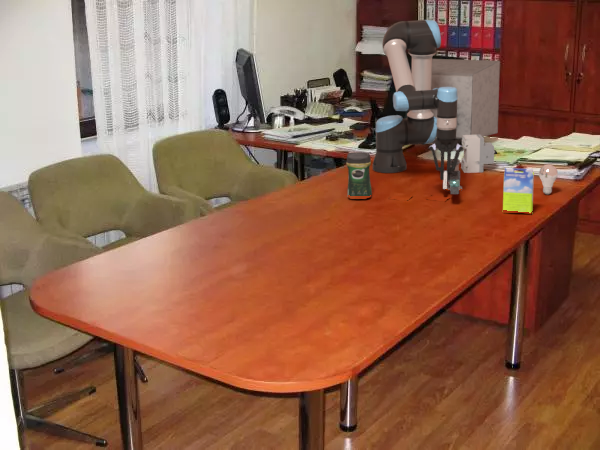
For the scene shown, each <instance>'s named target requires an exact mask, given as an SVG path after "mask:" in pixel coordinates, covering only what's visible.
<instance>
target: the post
mask: <svg viewBox="0 0 600 450" xmlns="http://www.w3.org/2000/svg"><path fill="white" fill-rule="evenodd" d="M453 160H454V158H451V164H450V167H452V164H453ZM460 161H461V160H460V159H459V158H458V161H457V164H456V167H455V170H454V171H460V170H459V169H460V168H459V167H460V163H461V162H460ZM447 189H448V190H450V182H447ZM460 189H462V190H463V186H462V185H460V186H459V190H460Z"/></svg>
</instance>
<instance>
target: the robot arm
mask: <svg viewBox="0 0 600 450" xmlns="http://www.w3.org/2000/svg"><path fill="white" fill-rule="evenodd" d="M441 44H442V38H441V30H440V27H439V24H438V23H437V21H436V20H433V19H431V20H429V19H422V20H421V19H420V20H418V19H417V20H407V21H405V20H404V21H398V22H395V23H393V24H392V25H391V26H389V28H388V29H387V30H386V32H385V34H384V35H383V38H382V50H383V53H384V54H383V55H386V57H387V60H388V63H389V68H390V72H391V76H392V80H393V83H394V88H395V92H393V94H392V103H393V104H392V105H393V109H394V110H395V111H396V112H407V113H406V118H403V116H402V115H398V114H396V115H394V114H393V115H387V116H383V117H380V118H378V119H377V121H376V122H375V149H376V150H375V155H374V158H373V162H372V170H373V172H377V173H382V174H393V173H400V172H405V171H406V170H407V168H408V167H407V166H408V165H407V162H406V159H405V156H404V155H405V154H404V153H403V152H404V151H403V146H409V145H410V146H412V145H426V144H430V145H429V146H428V147H429V148H430V149H429V150H430V152H431V153H432V158H433V162H434V166H435V170H436V171H438V172H440V176H439V177H440V180H441V181H442V189H443V190H445V189H447V185H448V182H447V180H450V172H451V171H454V170H455V167H456V164H457V161H458V159H459V156H460V154H461V153H462V151H461V150H462V149H463V147H462V146H461V145H459V144H457V141H456V129H455V128H456V126H457V99H458V95H457V89H456V88H455V87H440V88H435V89H433V90H431V77H432V59H433V56H435V55H436V53H437V49H439V48H441V46H442V45H441ZM406 50H407V51H408V54H409V55H410V56H411V67H410V63H409V59H408V56H407V53H406ZM430 109H437V118H436V117H434V114H433V113H432V112H431V111H430ZM434 141H435V142H434ZM431 143H433V145H432V144H431ZM434 143H435V144H434ZM431 145H432V146H431ZM436 146H437V148H438V149H439V150H438V151H440V166H439V162H438V158H437V157H438V156H437V153H436V151H437V150H436ZM455 147H456V151H455V155H454V157H453V159H454V160H453V164H452V167H450V164H451V159H452V152H454V151H453V149H454V148H455ZM445 153H446V170H445Z"/></svg>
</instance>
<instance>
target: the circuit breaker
mask: <svg viewBox="0 0 600 450" xmlns="http://www.w3.org/2000/svg"><path fill="white" fill-rule="evenodd" d="M462 146H463V149H464V150H463V157H462V158H461V160H460V161H461V162H460V163H461V170H462V171H463V173H464V174H465V173H467V174H470V173H471V174H472V173H474V174H475V173H484V165H485V164H486V165H487V164H488V165H489V164H494V163H495V155H498V151H497V149H495V145H494V144H493V143H492V142H485V137H482V136H481V134H480V135H463V137H462Z"/></svg>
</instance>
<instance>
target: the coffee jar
mask: <svg viewBox="0 0 600 450" xmlns="http://www.w3.org/2000/svg"><path fill="white" fill-rule="evenodd" d="M371 161H372V160H371V156H370V152H369V151H368V152H367V151H366V152H365V151H363V152H362V151H361V152H358V151H356V152H348V153H347V155H346V167H347V170H348V171H347V172H348V174H347V175H348V178H347V179H348V180H347V196H348V195H350V196H370V195H372V194H373V191H372V184H371V175H370V168H371V167H370V166H371V165H372V162H371ZM372 196H373V195H372Z"/></svg>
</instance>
